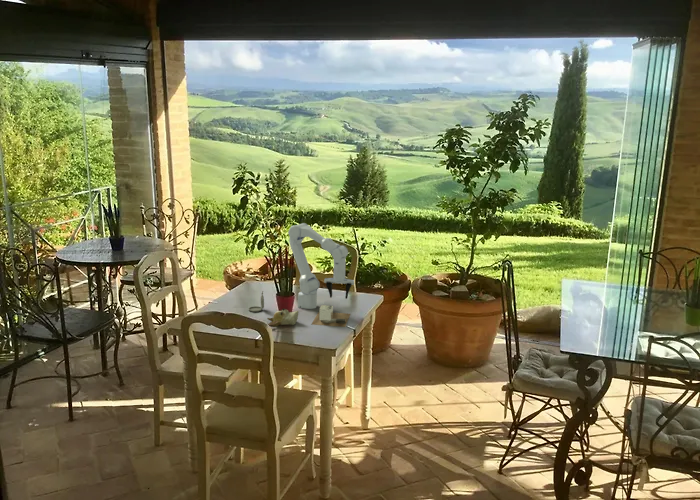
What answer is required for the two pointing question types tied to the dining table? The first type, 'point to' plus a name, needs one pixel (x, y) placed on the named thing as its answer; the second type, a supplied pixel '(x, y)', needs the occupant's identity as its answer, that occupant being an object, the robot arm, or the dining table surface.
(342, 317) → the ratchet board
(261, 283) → the dining table surface
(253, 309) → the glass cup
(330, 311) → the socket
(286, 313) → the ceramic sculpture
